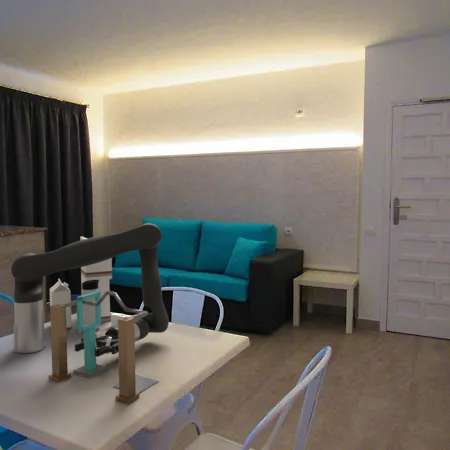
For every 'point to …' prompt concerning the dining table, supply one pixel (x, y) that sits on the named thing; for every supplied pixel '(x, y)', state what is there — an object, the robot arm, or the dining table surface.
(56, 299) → the milk carton
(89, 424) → the dining table surface
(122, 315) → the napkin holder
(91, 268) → the tall white tower
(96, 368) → the turquoise post on base
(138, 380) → the slate pad
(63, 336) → the bent wire rig
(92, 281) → the travel mug
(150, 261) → the robot arm
